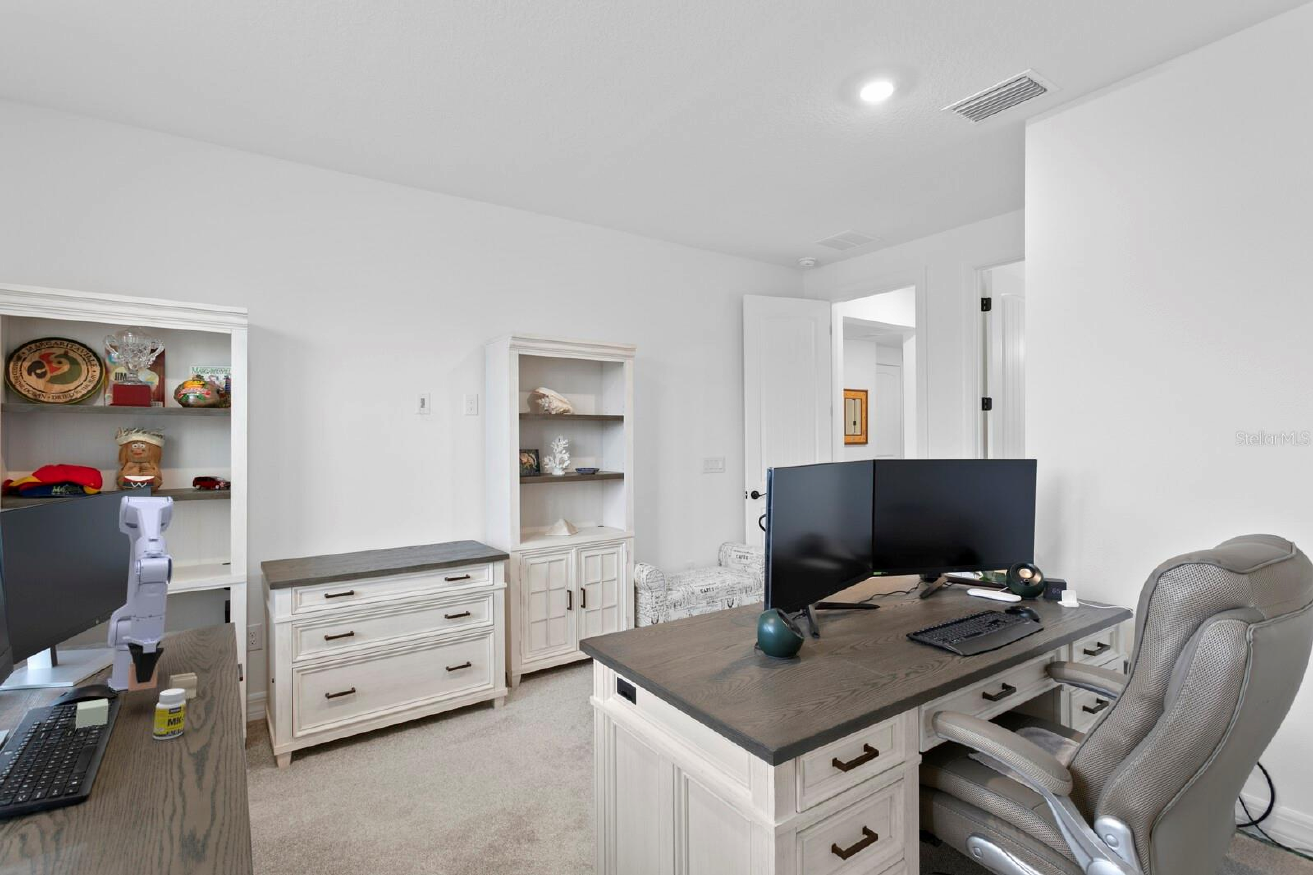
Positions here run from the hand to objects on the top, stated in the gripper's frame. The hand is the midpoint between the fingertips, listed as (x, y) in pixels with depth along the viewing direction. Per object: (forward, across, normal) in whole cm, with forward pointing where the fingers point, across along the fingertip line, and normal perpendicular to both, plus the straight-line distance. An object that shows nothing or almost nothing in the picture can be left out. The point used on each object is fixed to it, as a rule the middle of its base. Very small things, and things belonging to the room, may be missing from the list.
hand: (142, 678), depth 139 cm
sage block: (+7, +5, -8) cm, 12 cm away
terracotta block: (+2, 0, 0) cm, 2 cm away
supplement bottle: (+7, +18, +3) cm, 19 cm away
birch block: (+7, -5, +8) cm, 12 cm away
